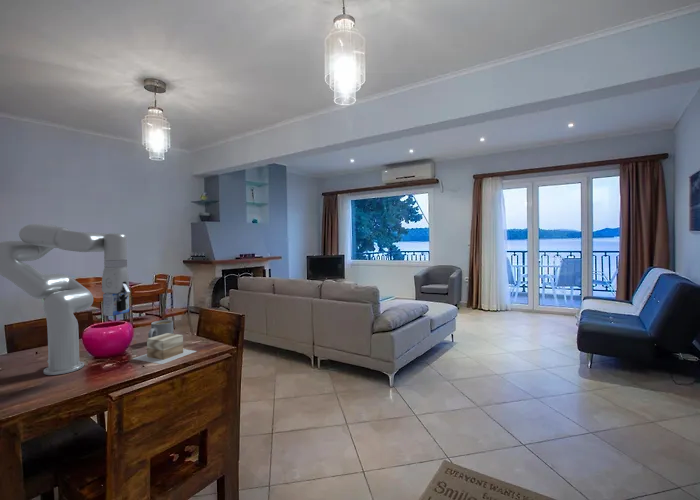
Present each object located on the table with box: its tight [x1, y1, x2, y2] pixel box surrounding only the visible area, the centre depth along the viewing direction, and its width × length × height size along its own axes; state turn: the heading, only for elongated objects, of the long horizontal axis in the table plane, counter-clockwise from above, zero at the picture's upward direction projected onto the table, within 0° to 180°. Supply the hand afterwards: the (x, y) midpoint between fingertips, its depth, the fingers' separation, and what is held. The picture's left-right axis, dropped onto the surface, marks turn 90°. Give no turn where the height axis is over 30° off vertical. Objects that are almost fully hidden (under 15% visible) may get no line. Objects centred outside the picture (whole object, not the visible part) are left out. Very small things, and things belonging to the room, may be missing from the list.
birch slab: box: [146, 333, 184, 350], centre depth 153 cm, size 10×10×4 cm
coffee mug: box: [147, 319, 174, 338], centre depth 175 cm, size 13×10×10 cm
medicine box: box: [102, 292, 130, 317], centre depth 137 cm, size 8×4×9 cm, turn 168°
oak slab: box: [146, 343, 184, 360], centre depth 153 cm, size 10×10×4 cm
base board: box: [132, 348, 197, 365], centre depth 153 cm, size 18×18×1 cm
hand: (116, 309), depth 137 cm, fingers closed on medicine box, 5 cm apart
